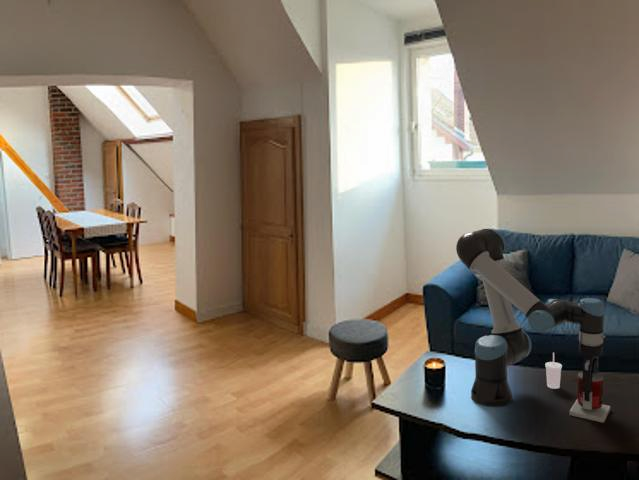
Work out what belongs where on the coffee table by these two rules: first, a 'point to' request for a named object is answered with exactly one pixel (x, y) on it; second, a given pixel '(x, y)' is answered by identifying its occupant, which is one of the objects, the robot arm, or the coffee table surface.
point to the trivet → (590, 412)
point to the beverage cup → (553, 374)
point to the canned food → (592, 390)
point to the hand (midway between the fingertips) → (589, 403)
